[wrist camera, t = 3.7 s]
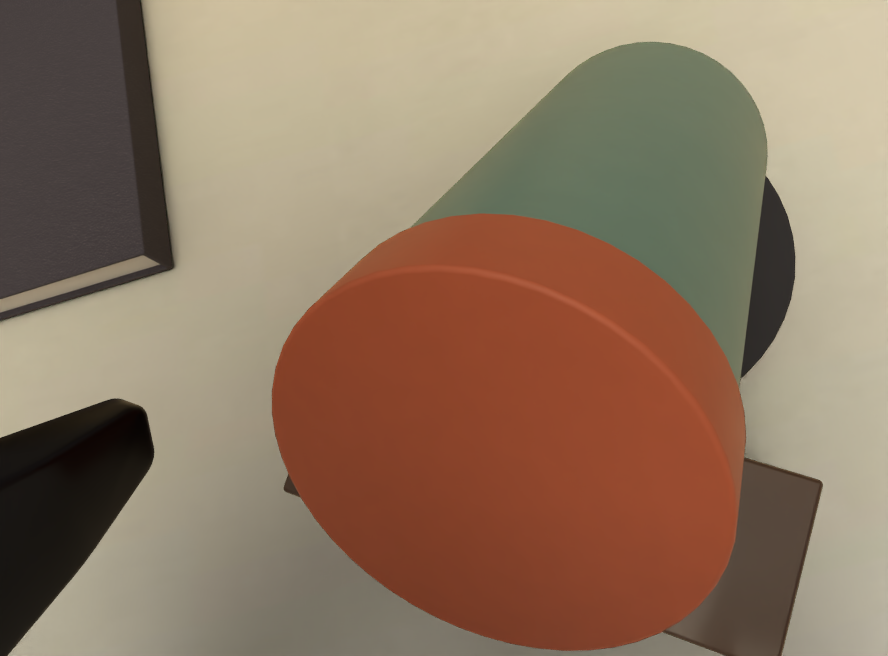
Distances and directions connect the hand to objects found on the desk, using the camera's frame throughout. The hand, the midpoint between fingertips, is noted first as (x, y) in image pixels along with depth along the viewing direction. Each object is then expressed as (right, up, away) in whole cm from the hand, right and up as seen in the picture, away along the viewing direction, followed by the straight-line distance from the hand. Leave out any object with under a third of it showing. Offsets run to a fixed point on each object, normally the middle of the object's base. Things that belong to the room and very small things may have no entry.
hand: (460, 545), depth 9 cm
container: (+4, +2, +11) cm, 12 cm away
